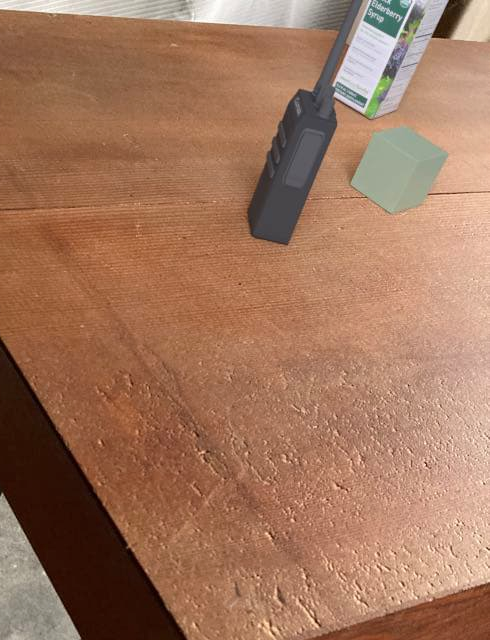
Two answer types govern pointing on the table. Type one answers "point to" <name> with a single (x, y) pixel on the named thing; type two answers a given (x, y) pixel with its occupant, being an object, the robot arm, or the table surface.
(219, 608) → the table surface
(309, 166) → the walkie-talkie
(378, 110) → the syrup box
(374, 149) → the sage block
